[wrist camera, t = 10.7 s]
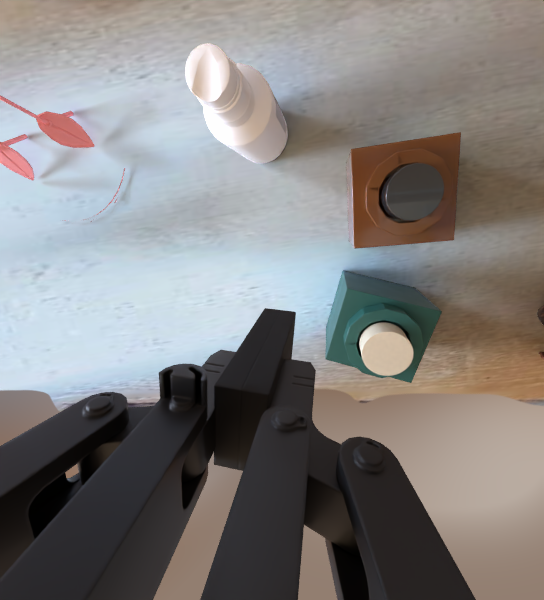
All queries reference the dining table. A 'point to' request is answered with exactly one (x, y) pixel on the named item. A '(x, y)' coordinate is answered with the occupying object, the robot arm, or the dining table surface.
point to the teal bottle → (377, 319)
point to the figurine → (55, 128)
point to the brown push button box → (374, 173)
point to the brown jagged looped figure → (543, 317)
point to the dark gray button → (412, 192)
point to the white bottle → (237, 104)
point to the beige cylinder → (385, 349)
